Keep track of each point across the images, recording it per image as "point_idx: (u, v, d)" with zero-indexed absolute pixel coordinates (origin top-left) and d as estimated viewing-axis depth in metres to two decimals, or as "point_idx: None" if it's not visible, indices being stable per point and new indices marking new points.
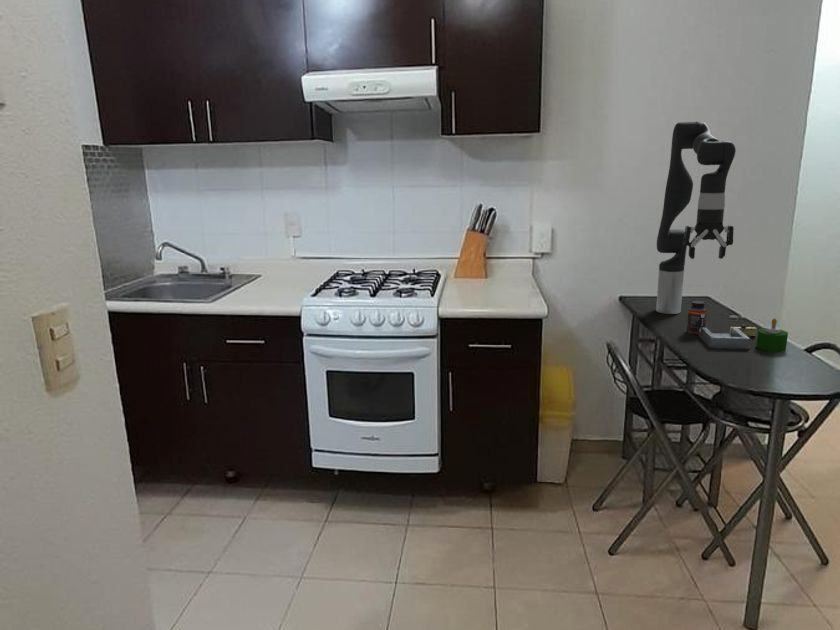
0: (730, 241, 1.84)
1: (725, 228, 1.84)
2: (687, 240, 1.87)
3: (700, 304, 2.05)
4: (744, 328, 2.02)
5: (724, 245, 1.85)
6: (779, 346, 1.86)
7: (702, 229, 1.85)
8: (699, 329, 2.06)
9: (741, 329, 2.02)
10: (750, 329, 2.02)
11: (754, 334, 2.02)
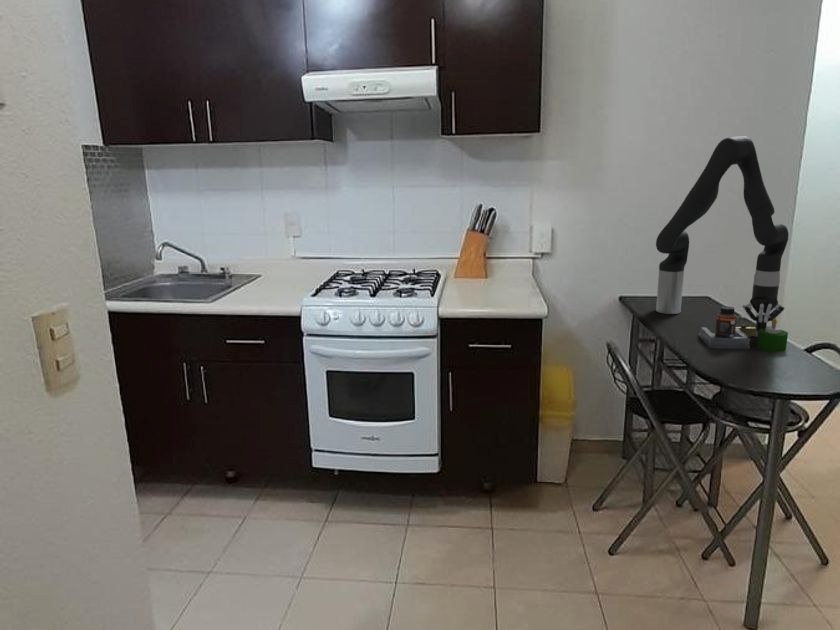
0: (772, 317, 1.99)
1: (777, 305, 1.99)
2: (753, 316, 2.00)
3: (730, 310, 1.92)
4: (744, 328, 2.02)
5: (765, 321, 2.00)
6: (779, 346, 1.86)
7: (757, 305, 1.99)
8: (729, 336, 1.93)
9: (741, 329, 2.02)
10: (750, 329, 2.02)
11: (754, 334, 2.02)
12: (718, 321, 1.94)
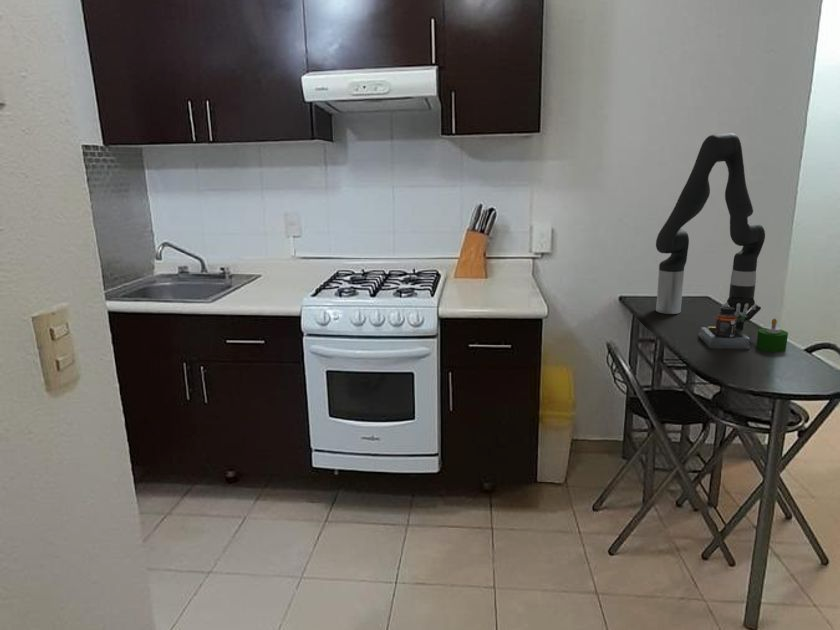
0: (749, 317, 2.01)
1: (754, 305, 2.00)
2: None
3: (730, 310, 1.92)
4: None
5: (742, 320, 2.01)
6: (778, 346, 1.86)
7: (734, 305, 2.01)
8: (729, 336, 1.93)
9: None
10: None
11: None
12: (718, 321, 1.94)
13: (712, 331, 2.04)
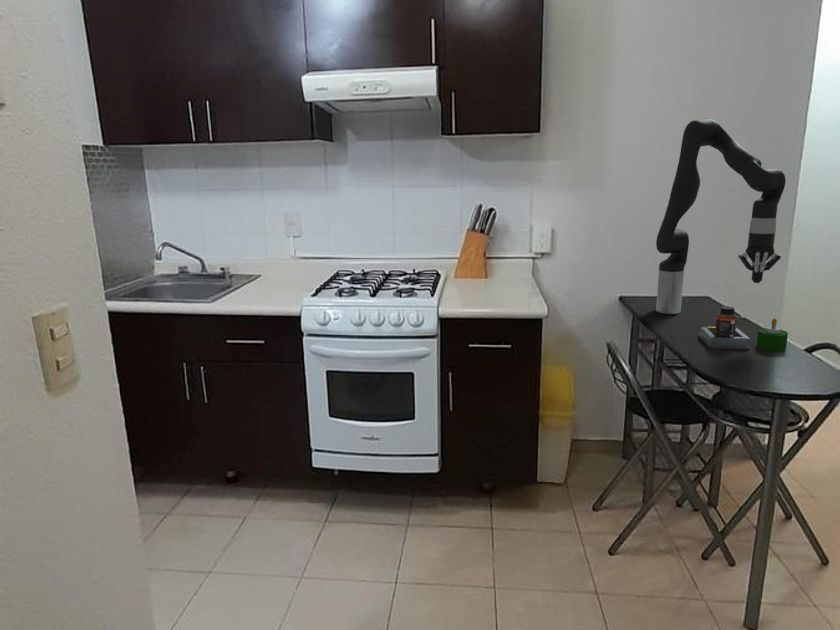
0: (768, 267, 1.95)
1: (774, 254, 1.95)
2: (749, 266, 1.96)
3: (730, 310, 1.92)
4: None
5: (761, 270, 1.96)
6: (778, 346, 1.86)
7: (753, 254, 1.95)
8: (729, 336, 1.93)
9: None
10: None
11: None
12: (718, 321, 1.94)
13: (711, 331, 2.04)
